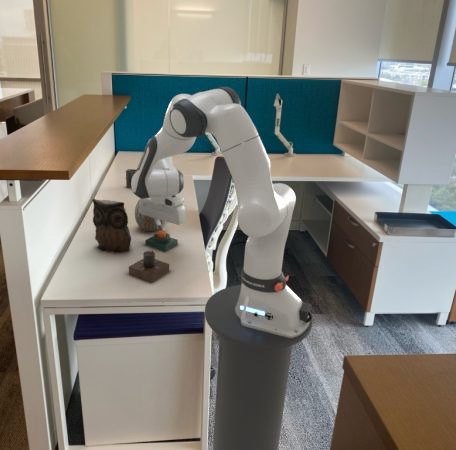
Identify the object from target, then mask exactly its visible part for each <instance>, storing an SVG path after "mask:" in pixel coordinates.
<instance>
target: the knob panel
mask: <svg viewBox="0 0 456 450" xmlns="http://www.w3.org/2000/svg"><path fill="white" fill-rule="evenodd" d="M169 272H170V263H168V262H165V261H162V260H159V259H157V258H155V266H154V267H151V268H147V267H144V265H143V258H142V259H140V260H138V261H137V262H135V263H132V264H130V265H129V266H128V275H130V276H132V277H135V278H138V279H141V280H142V281H145V282H148V283H153V282H155V281H156V280H158V279H160V278H162V277H163V276H164V275H166V274H168V273H169Z"/></svg>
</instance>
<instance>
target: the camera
mask: <svg viewBox="0 0 456 450" xmlns="http://www.w3.org/2000/svg"><path fill="white" fill-rule="evenodd" d="M136 170H137V169H133V168H128V169H126V170H125V184H126V185H125V187H126V188H128V189H132V187H131V181H132V176H133V174H134V173H135V171H136Z"/></svg>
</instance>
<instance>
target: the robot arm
mask: <svg viewBox="0 0 456 450" xmlns="http://www.w3.org/2000/svg"><path fill="white" fill-rule="evenodd" d="M206 133H207V134H211V135H212V136H214V138H215V140H216V141H217V145H218V147H219V149H220V152H221V154H222V156H223V159H224V162H225V163H226V165H227V168H228V170H229V173H230V175H231V179H232V181H233V185H234V190H235V194H236V200H237V209H238V211H237V218H236V219H237V224H238V227H239V229H240V231H242V233H244V234H245V235H246V236H248V237H247V240H246V242H245V247H244V259H243V266H242V268H241V274H240V285H242V286H241V291H240V296H239V299H238V302H237V304H236V307H235V313H236V314H237V316H238V317H239V318H240V321H241V324H242V326H245V327H249V328H252V329H256V330H260V331H264V332H268V333H272V334H276V335H279V336H283V337H287V338H294V337H297V336H299V335H301V334H302V333H303V332H304V331H305V330H306V329H307V327H308V325H309V323H310V321H311V319H312V317H313V313H312V312H311V313H312V314H311V313H310V311H311V306H312V304H311V303H308V302H304V301H303V304H302V299H301V298H300V297H299V296H298V295H297V294H296V292H294V291H293V290H292V289H291V288H290V287H289V286H288V285H287V282H288V281H289V277H290V275H287V276H285V275H284V272H283V271H282V269H283V263H284V253H285V248H286V247H285V246H286V243H287V239H288V236H289V231H290V227H291V223H292V218H293V213H294V209H295V207H296V201H297V197H296V193H295V192H294V190H293V189H292V187H291V186H289V185H288V184H285V183H282V182H276V183H273V179H272V174H271V160H270V158H269V156H268V153H267V150H266V147H265V145H264V144H263V141H262V139H261V136H260V135H259V132H258V130H257V127H256V125H255V124H254V122H253V120H252V118H251V117H250V115H249V114H248V112H247V111H246V109H245V107H243V106H242V102H241V99H240V96H239V95H238V92H236V91H235V90H234V89H233V88H231V87H228V86H220V87H216V88H213V89H209V90H205V91H199V92H196V93H194V94H189V93H180V94H177V95H175V96H174V97H173V98H172V99H171V100H170V102H169V104H168V107H167V109H166V112H165V115H164V119H163V123H162V126H161V128H160V129H159V130H158V132H157V133H156V134H155V135H153V136H152V137H151V138H150V139H149V140H148V142H147V144H146V146H145V148H144V151H143V153H142V155H141V157H140V160H139V163H138V166H137V167H136V169H135V170H136V171H135V173H134V174H133V176H132V181H131V187H132V188H131V191H132V193H133V195H135V196H136V197H137V198H139V199H140V203H139V212H140V214H142V215H146V216H149V217H152V218H155V222H156V224H157V229H158V230H159V231H166V227H167V224H168V223H170V224H172V225H176V226H180V225H181V224H184V222H185V220H186V209H185V206H184V203H185V198H184V196H181V195H180V193H181V192H182V191H183V189H184V183H185V180H184V179H185V177H184V174H183V173H182V172H181V171H180V170H179V169H177V168H176V167H175V165H174V163H173V162H174V161H173V157H174V156H178V155H182V154H184V153H186V152H187V151H189V150H190V149H191V148H192V147H193V145H194V144H195V142H196V139H197V138H203V137H204V136H205V134H206ZM160 220H162V223H163V224H161V222H160Z"/></svg>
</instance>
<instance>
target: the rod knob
mask: <svg viewBox="0 0 456 450" xmlns="http://www.w3.org/2000/svg"><path fill="white" fill-rule="evenodd" d="M142 259H143V265H144V267H147V268H151V267H154V266H155V259H156V253H155V251H154V250H145V251H144V252H142Z"/></svg>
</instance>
